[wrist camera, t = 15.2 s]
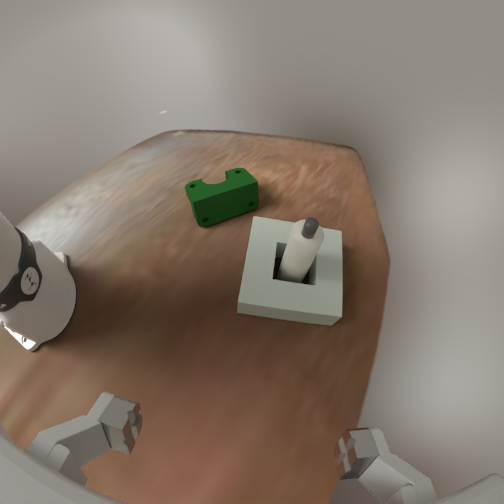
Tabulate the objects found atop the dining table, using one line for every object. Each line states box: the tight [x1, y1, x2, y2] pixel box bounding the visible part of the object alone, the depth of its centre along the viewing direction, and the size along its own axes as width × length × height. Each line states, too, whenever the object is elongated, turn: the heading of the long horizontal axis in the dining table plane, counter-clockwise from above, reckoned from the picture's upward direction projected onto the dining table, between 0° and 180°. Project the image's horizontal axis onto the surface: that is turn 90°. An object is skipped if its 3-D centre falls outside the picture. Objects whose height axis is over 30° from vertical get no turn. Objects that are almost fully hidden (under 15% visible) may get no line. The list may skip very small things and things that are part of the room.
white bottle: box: [277, 218, 324, 283], centre depth 36 cm, size 4×4×14 cm
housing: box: [237, 216, 343, 326], centre depth 41 cm, size 14×14×4 cm
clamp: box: [185, 168, 259, 227], centre depth 47 cm, size 12×6×9 cm, turn 111°
